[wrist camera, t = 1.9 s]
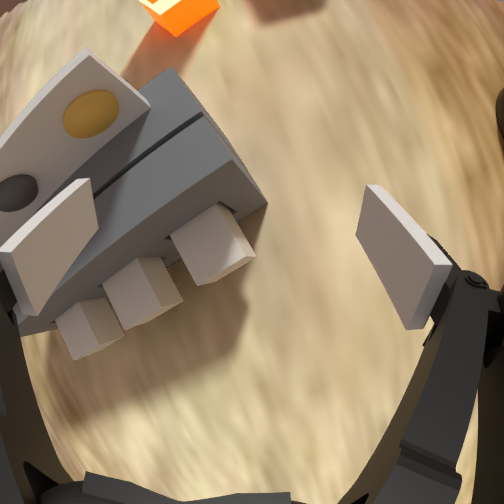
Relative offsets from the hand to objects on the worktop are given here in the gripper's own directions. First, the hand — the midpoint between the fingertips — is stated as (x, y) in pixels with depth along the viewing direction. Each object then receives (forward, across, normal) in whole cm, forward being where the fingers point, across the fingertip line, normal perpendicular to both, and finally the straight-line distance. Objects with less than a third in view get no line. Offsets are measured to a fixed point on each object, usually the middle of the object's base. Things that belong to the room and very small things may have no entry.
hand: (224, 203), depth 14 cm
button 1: (+14, -1, -11) cm, 18 cm away
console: (+20, -11, -14) cm, 27 cm away
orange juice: (+41, -9, +17) cm, 45 cm away
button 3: (+12, -16, -20) cm, 28 cm away
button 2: (+13, -9, -16) cm, 22 cm away
